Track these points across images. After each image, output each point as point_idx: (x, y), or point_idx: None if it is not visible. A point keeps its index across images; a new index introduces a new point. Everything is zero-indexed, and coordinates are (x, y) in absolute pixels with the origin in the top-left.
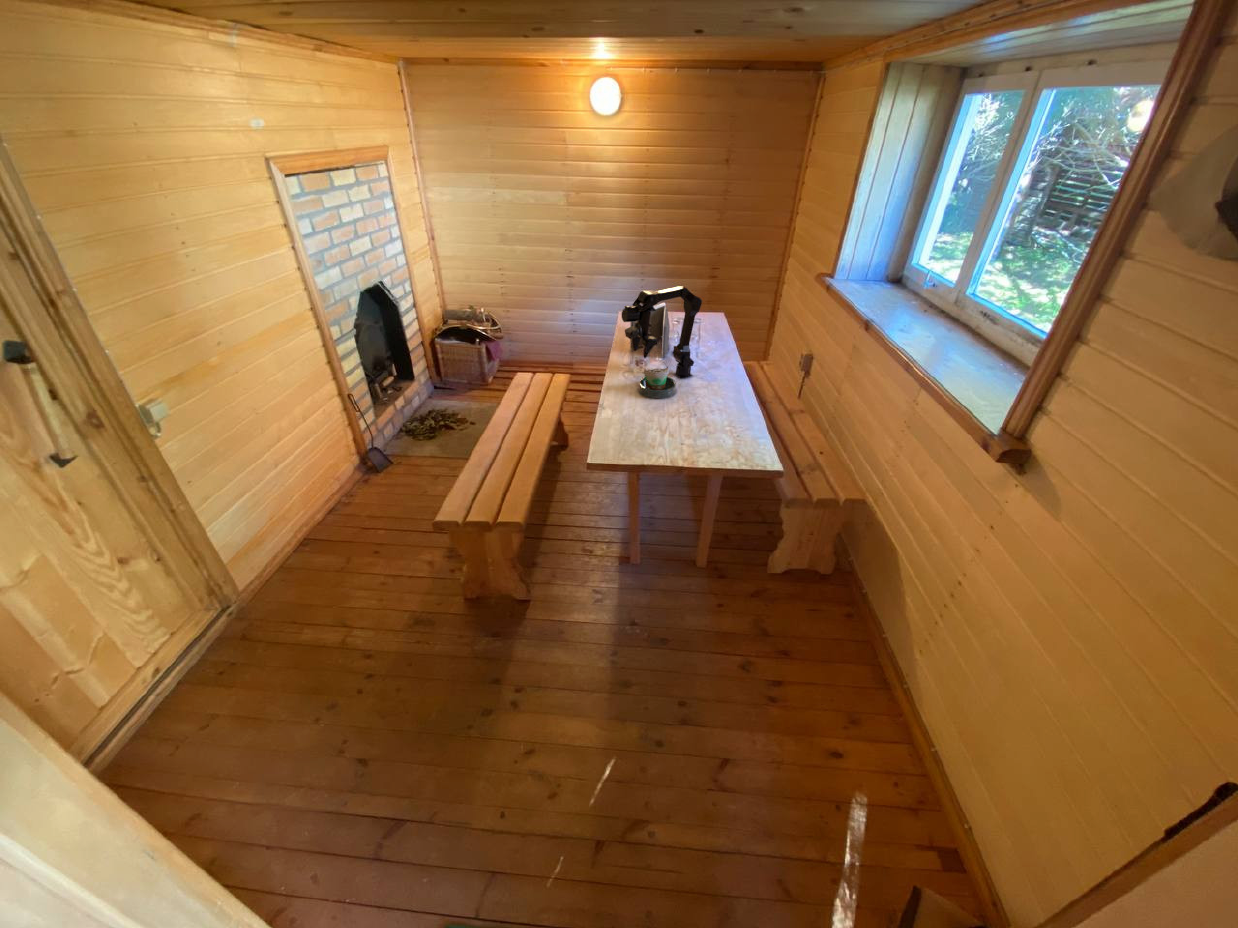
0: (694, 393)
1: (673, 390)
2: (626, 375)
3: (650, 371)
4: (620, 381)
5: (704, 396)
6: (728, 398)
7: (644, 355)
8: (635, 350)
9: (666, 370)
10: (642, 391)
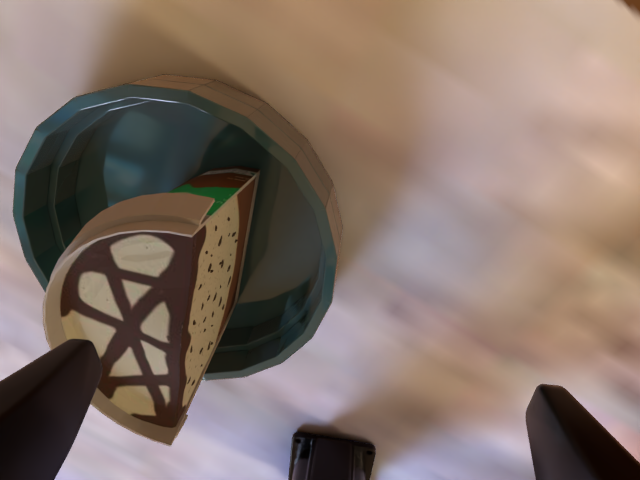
0: None
1: None
2: (597, 165)
3: (154, 269)
4: (528, 33)
5: None
6: None
7: (14, 376)
8: (533, 407)
9: None
10: (147, 78)
